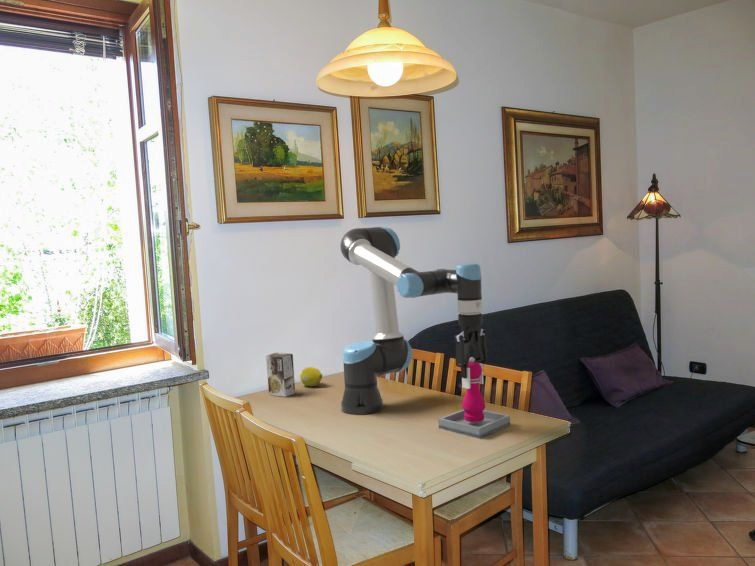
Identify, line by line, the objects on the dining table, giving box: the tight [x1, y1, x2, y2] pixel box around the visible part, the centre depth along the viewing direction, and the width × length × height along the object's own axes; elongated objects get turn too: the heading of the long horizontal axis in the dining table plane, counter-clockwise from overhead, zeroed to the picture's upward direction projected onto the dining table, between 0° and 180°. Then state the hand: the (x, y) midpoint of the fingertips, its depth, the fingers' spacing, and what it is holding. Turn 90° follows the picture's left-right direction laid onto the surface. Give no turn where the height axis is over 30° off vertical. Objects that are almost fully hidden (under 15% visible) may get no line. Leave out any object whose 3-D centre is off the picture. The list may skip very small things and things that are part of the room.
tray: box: [438, 408, 511, 439], centre depth 197 cm, size 16×16×3 cm
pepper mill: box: [461, 356, 486, 422], centre depth 196 cm, size 7×7×20 cm
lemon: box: [299, 366, 323, 387], centre depth 259 cm, size 11×8×8 cm
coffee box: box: [265, 352, 296, 398], centre depth 248 cm, size 9×6×16 cm
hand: (472, 385), depth 196 cm, fingers closed on pepper mill, 6 cm apart
